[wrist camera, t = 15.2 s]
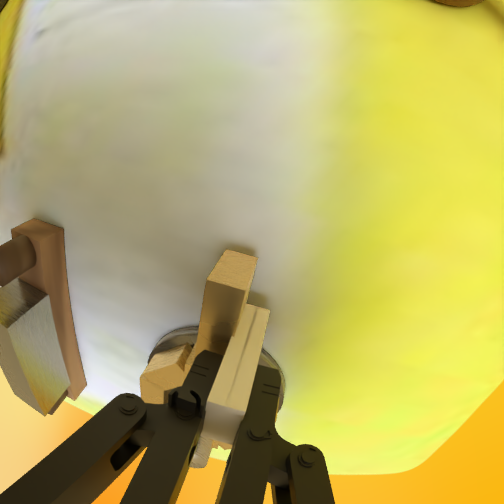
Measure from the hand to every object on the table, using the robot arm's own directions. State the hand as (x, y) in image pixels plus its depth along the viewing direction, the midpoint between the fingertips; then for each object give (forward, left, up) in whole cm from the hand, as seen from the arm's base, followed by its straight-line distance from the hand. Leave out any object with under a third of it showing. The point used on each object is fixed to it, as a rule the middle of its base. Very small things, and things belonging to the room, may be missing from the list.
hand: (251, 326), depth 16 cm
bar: (-16, -8, +1) cm, 18 cm away
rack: (-16, -7, -2) cm, 18 cm away
